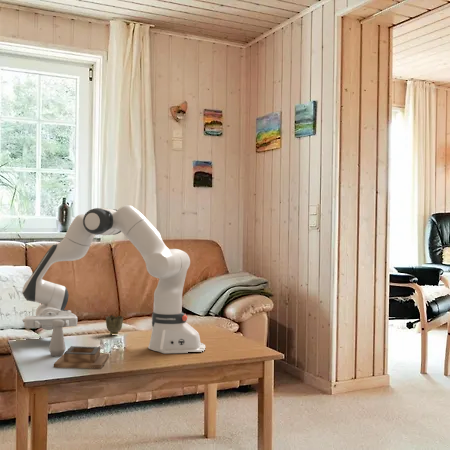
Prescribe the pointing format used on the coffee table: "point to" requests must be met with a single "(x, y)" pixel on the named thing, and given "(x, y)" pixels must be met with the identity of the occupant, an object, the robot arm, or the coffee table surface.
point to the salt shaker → (57, 338)
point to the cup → (114, 324)
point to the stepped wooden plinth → (82, 358)
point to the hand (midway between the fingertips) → (53, 325)
